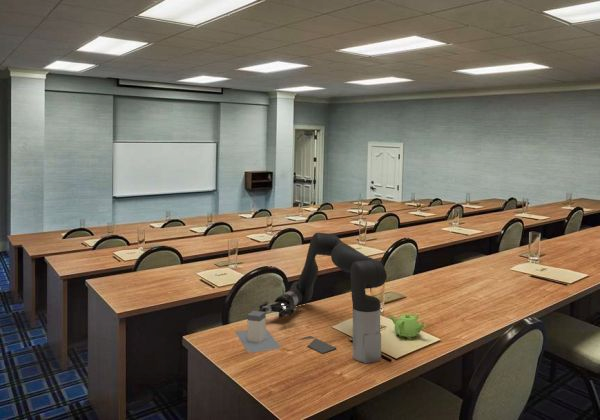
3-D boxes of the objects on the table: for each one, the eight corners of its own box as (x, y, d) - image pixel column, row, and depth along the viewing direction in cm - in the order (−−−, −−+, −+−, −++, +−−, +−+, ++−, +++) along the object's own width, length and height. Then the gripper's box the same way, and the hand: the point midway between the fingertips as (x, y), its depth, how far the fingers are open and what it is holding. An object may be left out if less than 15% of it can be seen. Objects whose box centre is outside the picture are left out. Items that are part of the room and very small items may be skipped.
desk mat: (281, 349, 169) (281, 347, 169) (248, 354, 165) (248, 353, 165) (264, 328, 189) (264, 327, 189) (235, 333, 185) (235, 331, 185)
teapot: (395, 341, 174) (395, 319, 173) (389, 330, 185) (389, 309, 185) (426, 341, 174) (426, 318, 173) (417, 329, 186) (417, 308, 185)
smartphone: (322, 353, 164) (296, 340, 176) (322, 355, 164) (296, 342, 176) (337, 347, 168) (310, 335, 180) (337, 350, 169) (310, 337, 180)
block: (266, 337, 178) (265, 312, 177) (260, 342, 174) (259, 316, 173) (254, 336, 180) (253, 310, 179) (248, 340, 176) (247, 314, 175)
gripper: (271, 292, 204) (253, 303, 189) (301, 295, 199) (286, 307, 184) (271, 308, 205) (254, 321, 190) (302, 312, 199) (286, 325, 185)
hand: (269, 314), depth 187 cm, fingers open, 8 cm apart
